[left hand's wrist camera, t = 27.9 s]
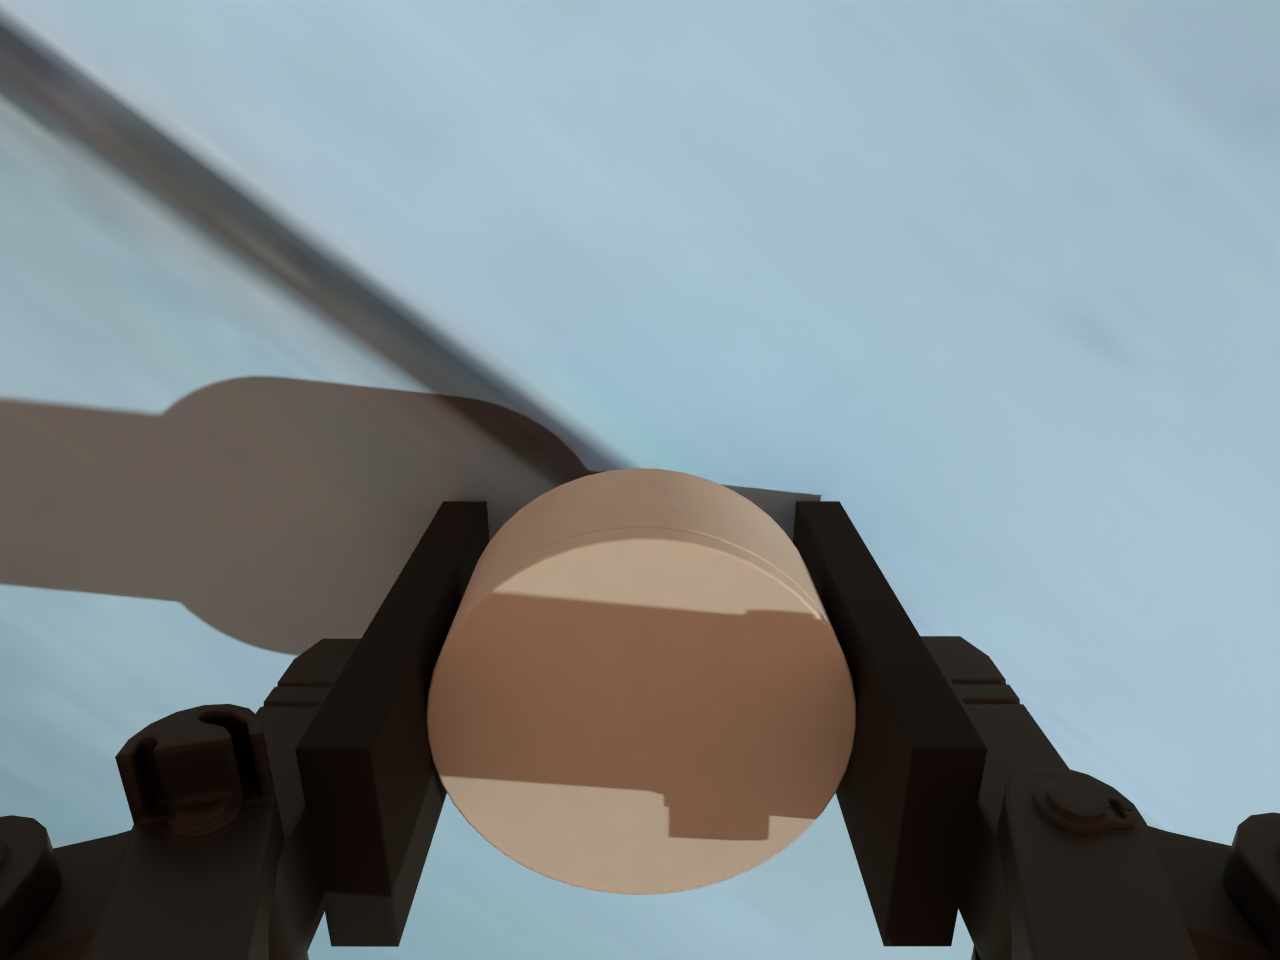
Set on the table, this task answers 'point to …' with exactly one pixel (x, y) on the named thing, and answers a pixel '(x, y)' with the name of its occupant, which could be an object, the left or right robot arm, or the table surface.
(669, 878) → the lid
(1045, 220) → the table surface
